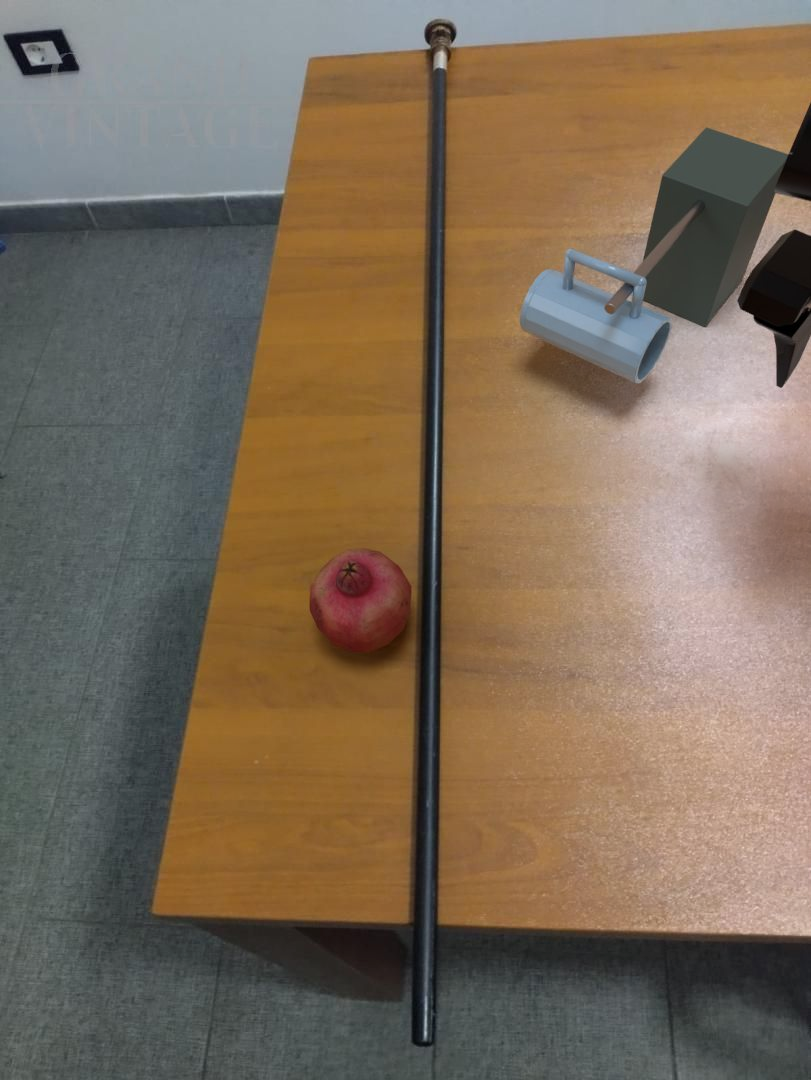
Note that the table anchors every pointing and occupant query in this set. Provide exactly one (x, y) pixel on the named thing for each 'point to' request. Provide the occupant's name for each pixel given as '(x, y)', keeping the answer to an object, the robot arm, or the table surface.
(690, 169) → the box
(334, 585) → the fruit
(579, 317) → the blue mug
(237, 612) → the table surface
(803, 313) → the robot arm
